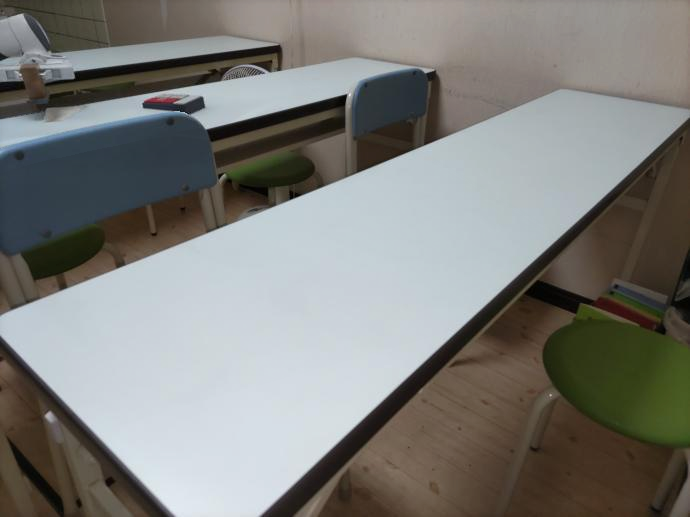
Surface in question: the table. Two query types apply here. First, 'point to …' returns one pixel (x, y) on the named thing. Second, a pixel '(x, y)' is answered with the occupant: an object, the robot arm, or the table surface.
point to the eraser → (34, 84)
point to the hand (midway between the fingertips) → (32, 77)
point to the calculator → (176, 103)
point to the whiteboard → (61, 113)
